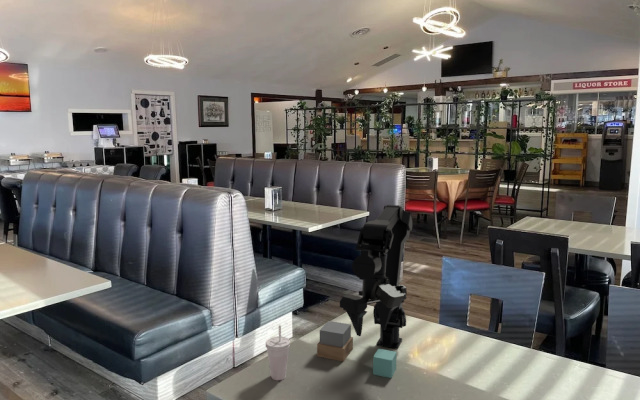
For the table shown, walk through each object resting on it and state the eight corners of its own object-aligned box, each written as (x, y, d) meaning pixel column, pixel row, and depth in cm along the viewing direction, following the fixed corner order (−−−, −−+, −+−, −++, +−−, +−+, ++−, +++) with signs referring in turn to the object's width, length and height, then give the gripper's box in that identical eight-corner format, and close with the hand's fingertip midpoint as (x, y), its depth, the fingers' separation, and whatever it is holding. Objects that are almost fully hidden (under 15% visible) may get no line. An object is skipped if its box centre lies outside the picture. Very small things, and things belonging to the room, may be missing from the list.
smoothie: (286, 384, 117) (286, 331, 115) (262, 381, 118) (261, 329, 116) (293, 371, 123) (292, 321, 121) (270, 369, 124) (269, 319, 122)
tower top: (328, 333, 138) (328, 320, 137) (350, 337, 135) (350, 324, 135) (319, 343, 131) (319, 330, 131) (343, 347, 129) (343, 334, 128)
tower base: (327, 345, 139) (327, 332, 138) (352, 350, 136) (352, 337, 135) (317, 357, 132) (317, 344, 131) (343, 362, 129) (343, 349, 128)
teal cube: (378, 365, 126) (378, 348, 126) (396, 369, 124) (396, 351, 124) (373, 374, 122) (373, 356, 121) (391, 378, 120) (392, 360, 119)
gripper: (372, 282, 106) (369, 349, 107) (422, 274, 119) (419, 334, 119) (339, 273, 115) (336, 335, 115) (388, 267, 127) (386, 323, 128)
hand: (371, 332), depth 119 cm, fingers open, 9 cm apart
